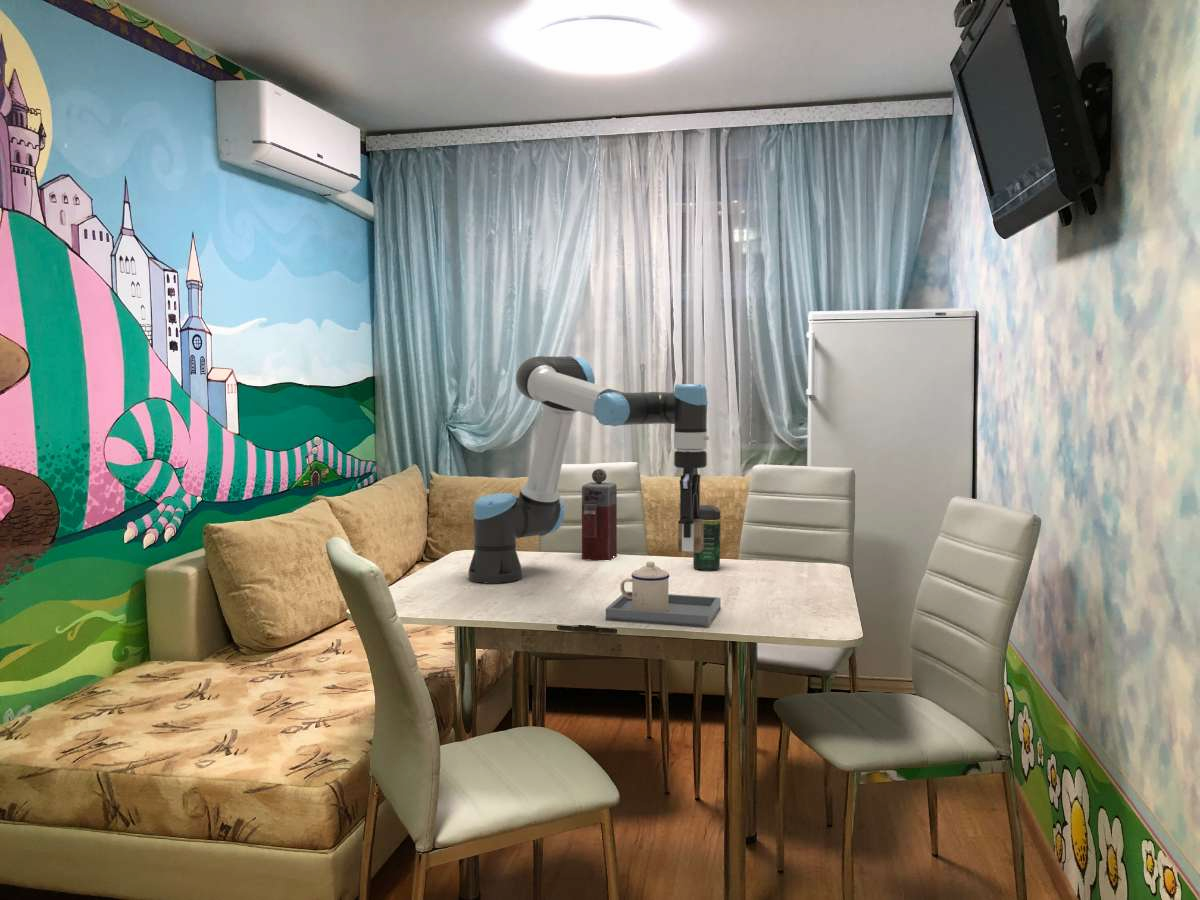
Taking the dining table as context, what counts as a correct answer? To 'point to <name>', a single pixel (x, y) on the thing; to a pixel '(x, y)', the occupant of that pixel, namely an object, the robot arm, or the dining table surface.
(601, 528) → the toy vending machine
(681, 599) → the tray
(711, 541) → the coffee jar
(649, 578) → the teacup with lid
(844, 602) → the dining table surface
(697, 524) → the walnut block
